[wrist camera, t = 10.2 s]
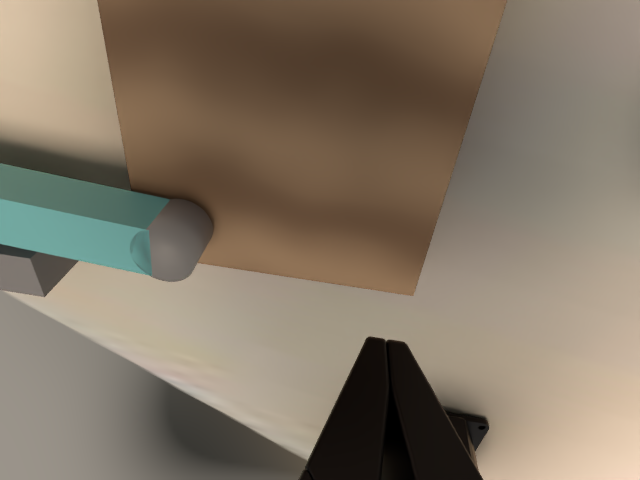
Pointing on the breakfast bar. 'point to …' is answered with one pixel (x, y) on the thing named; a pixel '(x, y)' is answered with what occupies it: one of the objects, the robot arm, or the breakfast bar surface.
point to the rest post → (31, 270)
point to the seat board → (301, 124)
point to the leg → (101, 224)
